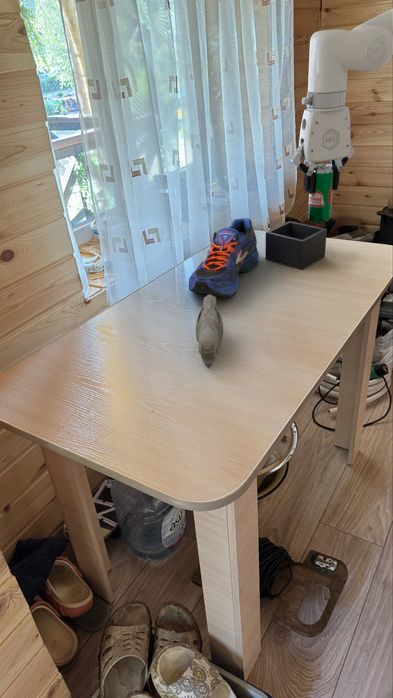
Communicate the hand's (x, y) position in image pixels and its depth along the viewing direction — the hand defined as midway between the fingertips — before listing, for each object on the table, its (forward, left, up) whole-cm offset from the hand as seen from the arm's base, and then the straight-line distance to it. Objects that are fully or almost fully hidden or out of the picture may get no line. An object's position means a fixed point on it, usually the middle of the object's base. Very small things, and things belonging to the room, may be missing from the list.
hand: (320, 189), depth 114 cm
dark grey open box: (+11, -7, -21) cm, 25 cm away
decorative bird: (-1, +39, -22) cm, 45 cm away
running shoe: (+18, +14, -22) cm, 31 cm away
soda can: (0, 0, -7) cm, 7 cm away
